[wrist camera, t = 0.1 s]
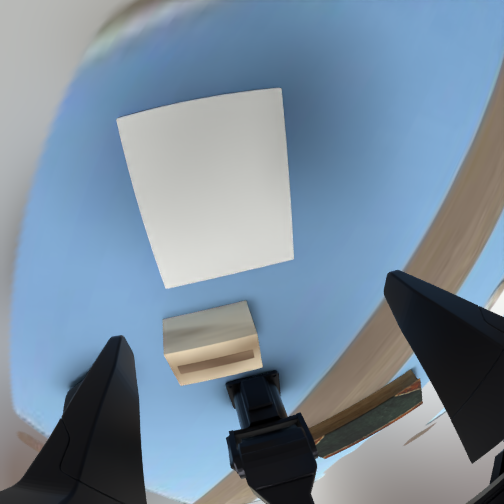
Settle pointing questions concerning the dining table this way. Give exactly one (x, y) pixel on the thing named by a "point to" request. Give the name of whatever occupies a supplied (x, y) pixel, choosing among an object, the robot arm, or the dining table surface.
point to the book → (368, 416)
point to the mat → (212, 183)
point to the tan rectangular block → (211, 343)
